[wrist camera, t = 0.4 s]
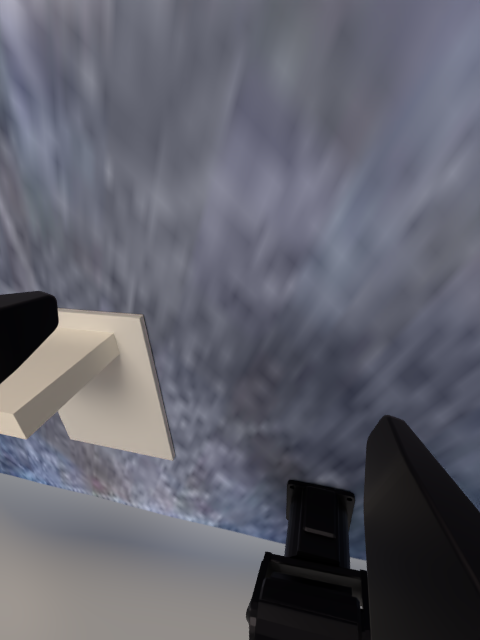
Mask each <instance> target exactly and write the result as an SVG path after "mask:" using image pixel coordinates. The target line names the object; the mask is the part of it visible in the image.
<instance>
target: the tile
mask: <svg viewBox="0 0 480 640" xmlns="http://www.w3.org/2000/svg"><path fill="white" fill-rule="evenodd" d="M119 354H120V352H119V349H118V345H117V342H116V339H115V335H114V333H109V332H99V331H88V330H78V329H68V328H56V330H55V331H54V332H53V333H52V334H51V335H50V336H49V337H48V338H47V339H46V340H45V341H44V342H43V343H42V344H41V345H40V346H39V347H38V348H37V349H36V350H35V351H34V353H33V354H32V355H31V356H30V357H29V358H28V359H27V360H26V361H25V362H24V363H23V364H22V365H21V366H20V367H19V368H18V369H17V370H16V371H15V372H14V373H12V374H11V375H10V376H9V377H8V378H7V379H6V380H4V381H3V382H2V383H1V384H0V434H4V435H9V436H13V437H18V438H22V439H28V438H29V437H30V436H31V435H32V434H33V433H34V432H35V431H36V430H38V429H39V428H40V427H41V426H42V425H43V424H44V423H45V422H46V421H47V420H48V419H49V418H51V417H52V416H53V415H54V414H55V413H56V412H57V411H58V410H59V409H60V408H61V407H62V406H64V405H65V404H66V403H67V402H68V401H69V400H70V399H71V398H72V397H73V396H74V395H75V394H76V393H78V392H79V391H80V390H81V389H82V388H83V387H84V386H85V385H86V384H87V383H88V382H89V381H91V380H92V379H93V378H94V377H95V376H96V375H97V374H98V373H99V372H100V371H101V370H102V369H104V368H105V367H106V366H107V365H108V364H109V363H110V362H111V361H112V360H113V359H114V358H115V357H117V356H118V355H119Z"/></svg>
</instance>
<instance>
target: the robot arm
mask: <svg viewBox="0 0 480 640" xmlns="http://www.w3.org/2000/svg"><path fill="white" fill-rule="evenodd" d="M58 324H59V316H58V307H57V300H56V298H55V297H54V296H53V295H51V294H48V293H45V292H42V291H33V292H23V293H14V294H5V295H0V384H1V383H2V382H3V381H4V380H6V379H7V378H8V377H9V376H10V375H11V374H12V373H14V372H15V371H16V370H17V369H18V368H19V367H20V366H21V365H22V364H23V363H24V362H25V361H26V360H27V359H28V358H29V357H30V356H31V355H32V354H33V353H34V351H35V350H36V349H37V348H38V347H39V346H40V345H41V344H42V343H43V342H44V341H45V340H46V339H47V338H48V337H49V336H50V335H51V334H52V333H53V332H54V331H55V330H56V328H57V326H58ZM354 503H355V495H354V494H353V493H351V492H346V491H341V490H336V489H332V488H327V487H322V486H317V485H312V484H307V483H302V482H298V481H293V480H290V481H288V483H287V507H286V519H287V520H288V529H287V538H286V546H285V547H286V548H285V555H284V556H280V555H275V554H272V553H271V552H265V556H264V559H263V561H262V562H261V566H260V570H259V573H258V577H257V581H256V584H255V588H254V592H253V596H252V599H251V601H250V603H249V606H248V608H247V612H246V619H247V621H248V623H249V640H480V512H479V511H478V510H477V508H476V507H475V506H474V505H473V503H472V502H471V501H470V500H469V499H468V497H467V496H466V495H465V494H464V493H463V491H462V490H461V489H460V488H459V487H458V485H457V484H456V483H455V482H454V480H453V479H452V478H451V477H450V476H449V474H448V473H447V472H446V471H445V470H444V468H443V467H442V466H441V465H440V464H439V462H438V461H437V460H436V459H435V458H434V456H433V455H432V454H431V453H430V451H429V450H428V449H427V448H426V447H425V445H424V444H423V443H422V442H421V441H420V439H419V438H418V437H417V436H416V435H415V433H414V432H413V431H412V430H411V428H410V427H409V426H408V425H407V424H406V423H405V421H403V420H401V419H399V418H396V417H393V416H390V415H384V416H383V417H382V418H381V419H380V421H379V422H378V424H377V425H376V427H375V428H374V430H373V431H372V432H371V434H370V435H369V437H368V440H367V447H366V466H365V485H364V526H365V543H366V560H367V571H365V570H360V571H358V570H352V569H350V554H349V534H348V532H349V527H350V522H351V518H352V513H353V508H354ZM360 606H362V609H360Z"/></svg>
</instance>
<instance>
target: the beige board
mask: <svg viewBox="0 0 480 640" xmlns="http://www.w3.org/2000/svg"><path fill="white" fill-rule="evenodd" d="M58 316H59V324H58V326H57V328H68V329H78V330H88V331H99V332H109V333H114V335H115V339H116V342H117V345H118V349H119V352H120V354H119V355H118V356H117V357H115V358H114V359H113V360H112V361H111V362H110V363H109V364H108V365H107V366H106V367H105V368H104V369H102V370H101V371H100V372H99V373H98V374H97V375H96V376H95V377H94V378H93V379H92V380H91V381H89V382H88V383H87V384H86V385H85V386H84V387H83V388H82V389H81V390H80V391H79V392H78V393H76V394H75V395H74V396H73V397H72V398H71V399H70V400H69V401H68V402H67V403H66V404H65V405H64V406H62V407H61V408H60V409H59V410H58V413H59V415H60V417H61V419H62V421H63V424H64V426H65V428H66V430H67V433H68V435H69V437H70V439H73V440H77V441H82V442H87V443H92V444H96V445H101V446H106V447H111V448H115V449H120V450H125V451H130V452H134V453H139V454H144V455H149V456H153V457H158V458H163V459H168V460H172V461H173V460H174V458H175V452H174V448H173V444H172V439H171V435H170V431H169V426H168V422H167V417H166V413H165V409H164V404H163V400H162V396H161V391H160V387H159V382H158V378H157V374H156V369H155V365H154V361H153V356H152V352H151V347H150V343H149V339H148V334H147V330H146V326H145V321H144V317H143V315H139V314H126V313H113V312H100V311H87V310H74V309H61V308H58Z"/></svg>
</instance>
